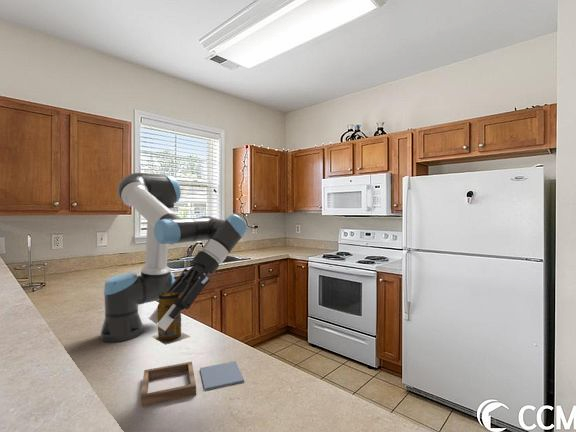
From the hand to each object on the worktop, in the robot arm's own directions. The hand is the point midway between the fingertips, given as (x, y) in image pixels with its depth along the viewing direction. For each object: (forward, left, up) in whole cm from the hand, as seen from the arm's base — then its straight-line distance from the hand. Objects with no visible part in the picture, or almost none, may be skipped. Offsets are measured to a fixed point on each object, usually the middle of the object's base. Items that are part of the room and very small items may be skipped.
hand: (156, 324), depth 86 cm
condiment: (0, +4, -4) cm, 6 cm away
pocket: (-1, +3, -18) cm, 19 cm away
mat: (-1, +17, -18) cm, 25 cm away
